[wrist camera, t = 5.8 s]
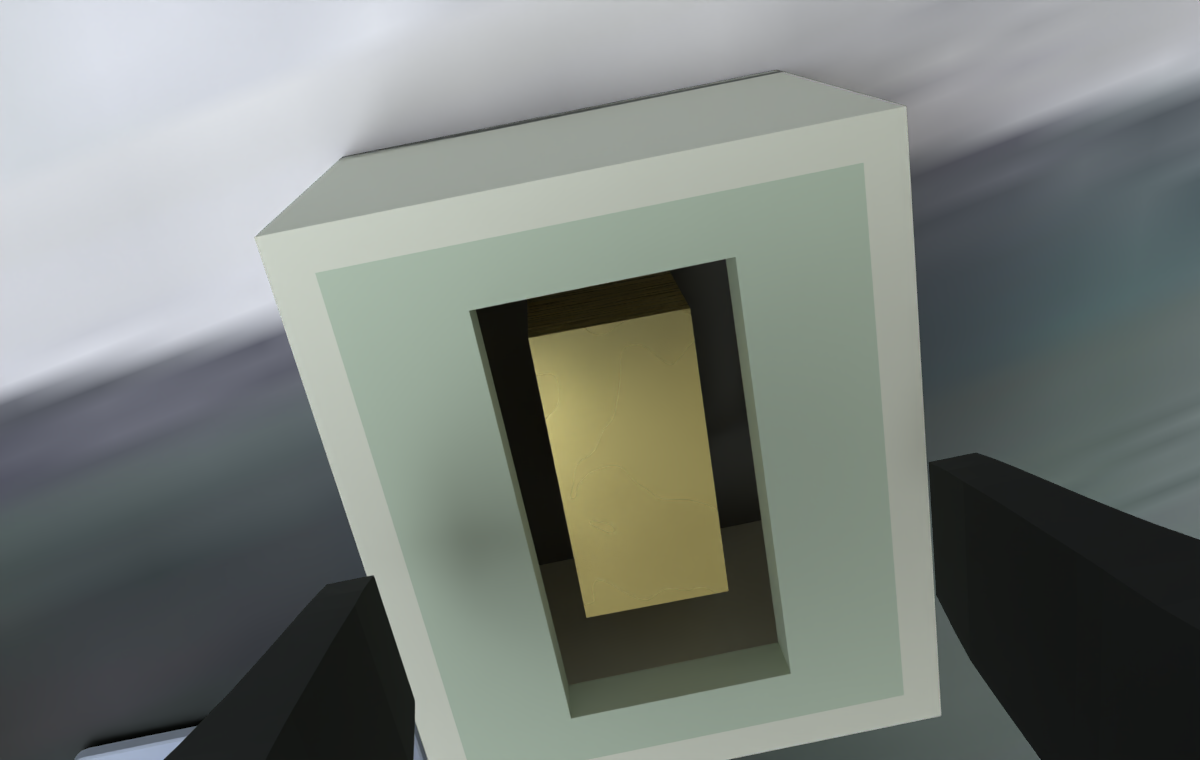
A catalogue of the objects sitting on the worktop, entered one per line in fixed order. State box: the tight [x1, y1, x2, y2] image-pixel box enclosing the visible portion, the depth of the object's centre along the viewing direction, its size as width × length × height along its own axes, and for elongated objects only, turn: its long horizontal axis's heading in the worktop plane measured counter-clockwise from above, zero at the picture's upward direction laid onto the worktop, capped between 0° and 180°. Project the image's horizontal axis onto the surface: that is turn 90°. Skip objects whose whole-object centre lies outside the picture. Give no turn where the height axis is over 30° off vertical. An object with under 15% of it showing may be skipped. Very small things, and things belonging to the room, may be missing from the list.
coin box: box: [254, 70, 941, 760], centre depth 17 cm, size 10×8×6 cm
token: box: [527, 270, 729, 618], centre depth 17 cm, size 5×2×5 cm, turn 10°
